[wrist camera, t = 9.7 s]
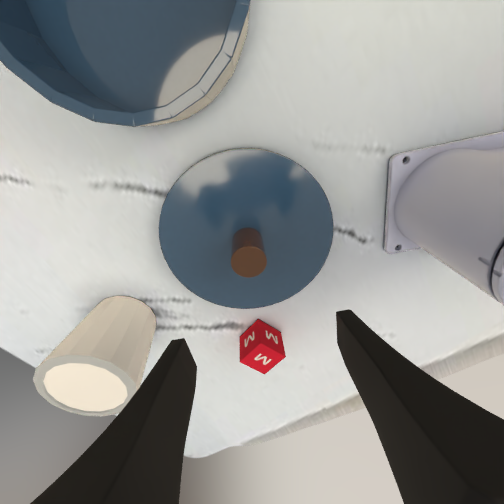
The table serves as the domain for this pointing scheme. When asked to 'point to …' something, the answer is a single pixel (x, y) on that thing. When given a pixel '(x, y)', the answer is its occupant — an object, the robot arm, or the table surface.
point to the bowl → (125, 54)
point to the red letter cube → (261, 347)
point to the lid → (246, 228)
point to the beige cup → (99, 359)
